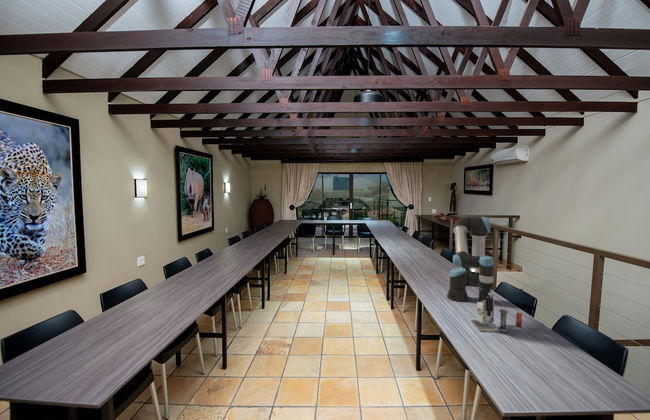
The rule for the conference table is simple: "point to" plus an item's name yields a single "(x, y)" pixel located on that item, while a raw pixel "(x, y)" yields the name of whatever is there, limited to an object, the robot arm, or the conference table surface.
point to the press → (491, 326)
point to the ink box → (483, 312)
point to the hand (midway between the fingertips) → (485, 318)
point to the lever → (517, 321)
